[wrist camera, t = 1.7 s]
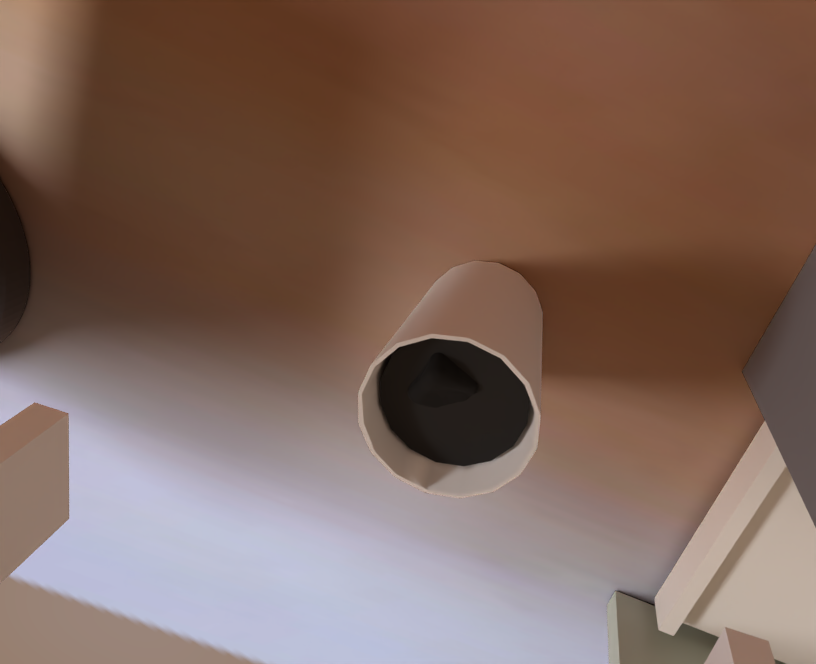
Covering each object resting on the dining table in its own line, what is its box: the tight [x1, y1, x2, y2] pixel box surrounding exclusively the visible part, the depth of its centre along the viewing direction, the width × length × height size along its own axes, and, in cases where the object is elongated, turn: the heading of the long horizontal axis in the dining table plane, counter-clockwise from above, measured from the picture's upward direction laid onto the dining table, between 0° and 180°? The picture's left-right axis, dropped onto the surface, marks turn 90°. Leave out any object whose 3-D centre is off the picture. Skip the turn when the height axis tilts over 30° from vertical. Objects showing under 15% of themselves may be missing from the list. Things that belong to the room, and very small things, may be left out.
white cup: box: [358, 261, 543, 498], centre depth 29 cm, size 7×7×10 cm
